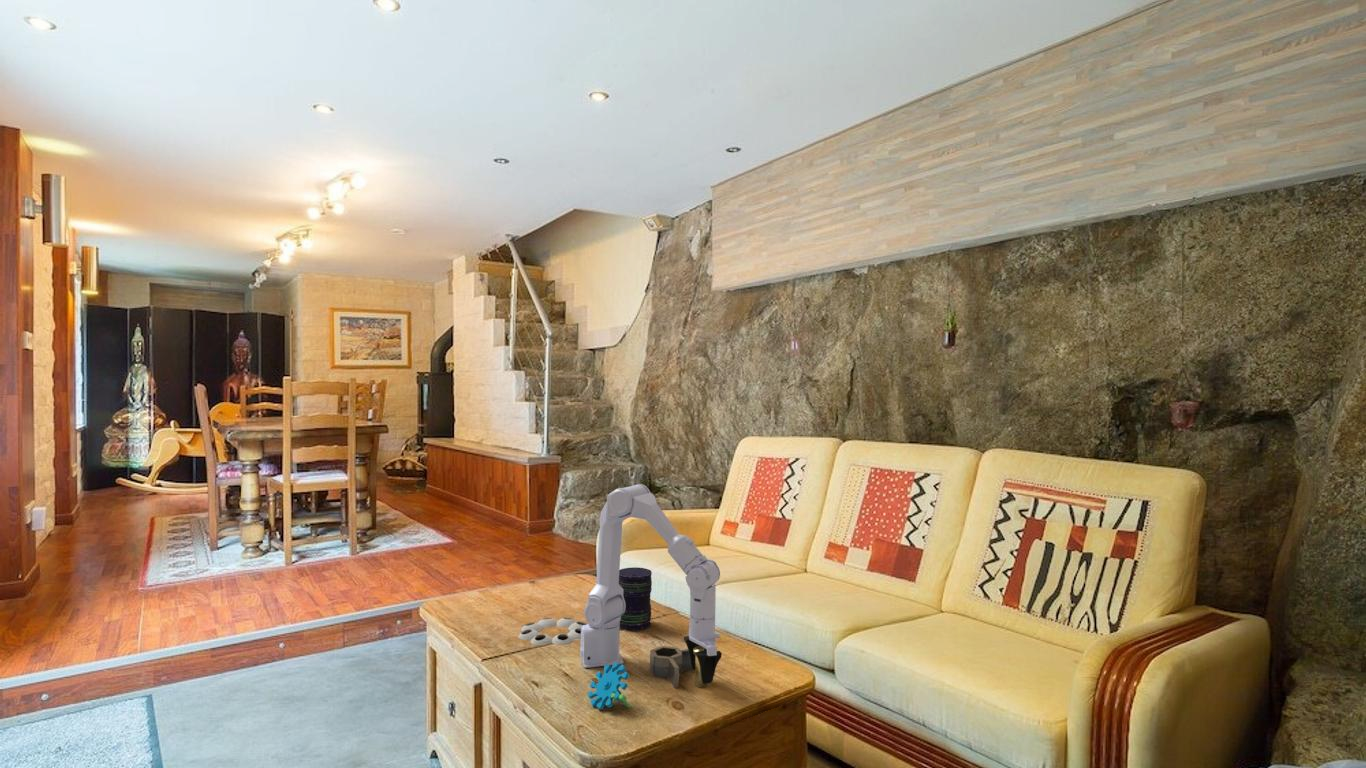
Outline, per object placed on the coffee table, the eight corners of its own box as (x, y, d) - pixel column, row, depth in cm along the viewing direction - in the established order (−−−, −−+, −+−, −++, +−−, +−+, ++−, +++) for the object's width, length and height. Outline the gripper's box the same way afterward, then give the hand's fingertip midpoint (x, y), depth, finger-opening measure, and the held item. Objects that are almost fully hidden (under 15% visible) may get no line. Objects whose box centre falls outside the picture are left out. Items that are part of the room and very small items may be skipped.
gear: (579, 690, 148) (611, 652, 151) (595, 703, 150) (626, 666, 153) (601, 718, 138) (635, 678, 141) (618, 732, 141) (651, 692, 144)
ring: (600, 640, 182) (600, 633, 182) (527, 652, 173) (527, 644, 173) (578, 617, 199) (578, 610, 199) (510, 627, 191) (510, 620, 191)
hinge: (661, 689, 152) (661, 669, 152) (647, 666, 165) (648, 647, 165) (715, 683, 156) (716, 663, 156) (698, 660, 168) (698, 642, 168)
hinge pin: (695, 689, 152) (696, 653, 152) (690, 681, 156) (691, 646, 156) (712, 687, 154) (713, 651, 154) (707, 680, 157) (707, 645, 157)
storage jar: (618, 618, 197) (619, 566, 197) (652, 619, 197) (653, 567, 197) (613, 631, 188) (614, 576, 188) (649, 632, 187) (650, 577, 187)
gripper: (730, 625, 149) (729, 687, 149) (709, 604, 163) (708, 661, 163) (699, 627, 147) (698, 691, 147) (680, 606, 161) (680, 664, 161)
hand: (701, 675), depth 155 cm, fingers open, 7 cm apart
